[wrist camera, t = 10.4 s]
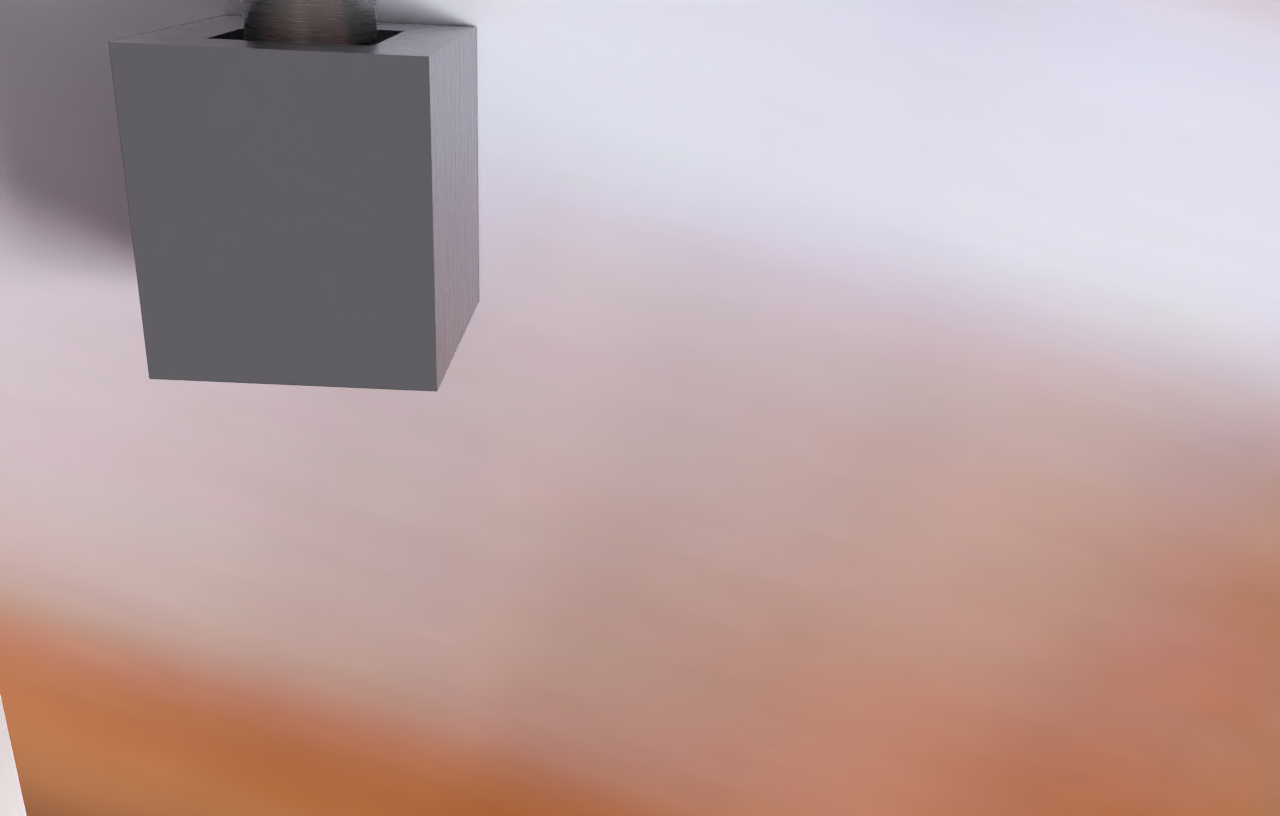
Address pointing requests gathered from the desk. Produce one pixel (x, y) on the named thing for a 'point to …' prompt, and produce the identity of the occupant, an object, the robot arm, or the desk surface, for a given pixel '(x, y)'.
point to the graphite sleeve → (301, 203)
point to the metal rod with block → (311, 21)
